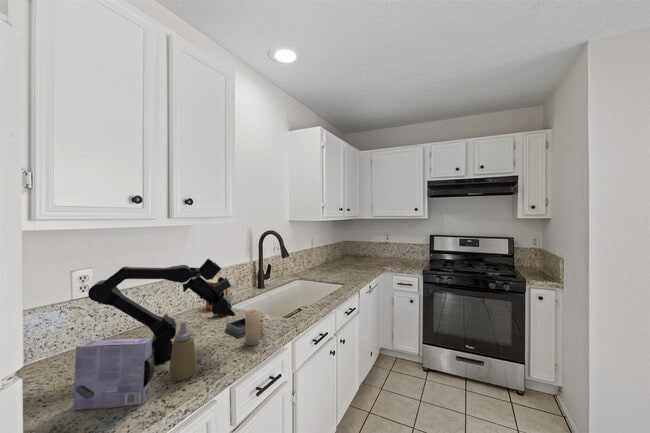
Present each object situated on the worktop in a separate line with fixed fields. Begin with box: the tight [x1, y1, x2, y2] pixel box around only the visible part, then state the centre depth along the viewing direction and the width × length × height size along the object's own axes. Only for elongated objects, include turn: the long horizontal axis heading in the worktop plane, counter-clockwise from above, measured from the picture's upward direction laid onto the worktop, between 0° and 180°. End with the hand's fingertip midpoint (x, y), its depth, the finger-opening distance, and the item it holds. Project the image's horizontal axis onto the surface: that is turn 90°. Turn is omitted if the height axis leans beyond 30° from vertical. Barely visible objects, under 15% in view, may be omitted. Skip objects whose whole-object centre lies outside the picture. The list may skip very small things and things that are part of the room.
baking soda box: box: [205, 278, 228, 311], centre depth 161 cm, size 10×6×16 cm
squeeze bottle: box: [169, 321, 197, 381], centre depth 93 cm, size 8×8×18 cm
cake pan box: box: [72, 337, 156, 412], centre depth 80 cm, size 19×5×18 cm, turn 99°
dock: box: [224, 317, 245, 339], centre depth 130 cm, size 11×11×4 cm
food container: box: [212, 293, 234, 318], centre depth 149 cm, size 12×6×10 cm, turn 143°
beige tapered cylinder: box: [244, 308, 261, 346], centre depth 118 cm, size 6×6×13 cm
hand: (232, 311), depth 115 cm, fingers open, 9 cm apart
